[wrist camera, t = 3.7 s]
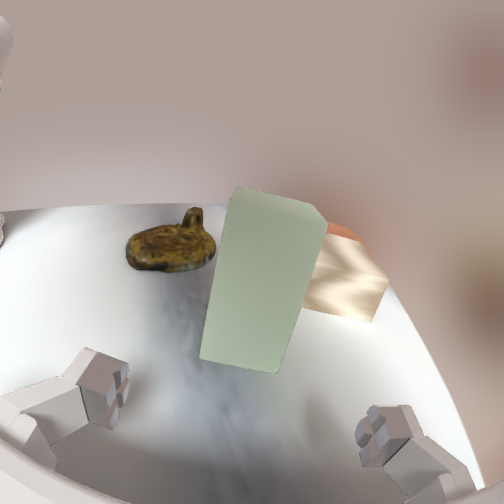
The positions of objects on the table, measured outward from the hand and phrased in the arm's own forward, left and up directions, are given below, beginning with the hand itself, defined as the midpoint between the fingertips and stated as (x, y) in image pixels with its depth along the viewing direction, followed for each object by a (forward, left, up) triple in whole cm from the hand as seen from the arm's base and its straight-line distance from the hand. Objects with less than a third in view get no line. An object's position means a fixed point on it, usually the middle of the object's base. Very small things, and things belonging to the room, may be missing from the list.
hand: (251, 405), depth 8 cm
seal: (-9, +25, -6) cm, 27 cm away
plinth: (+7, +23, -6) cm, 25 cm away
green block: (0, +10, -6) cm, 12 cm away
